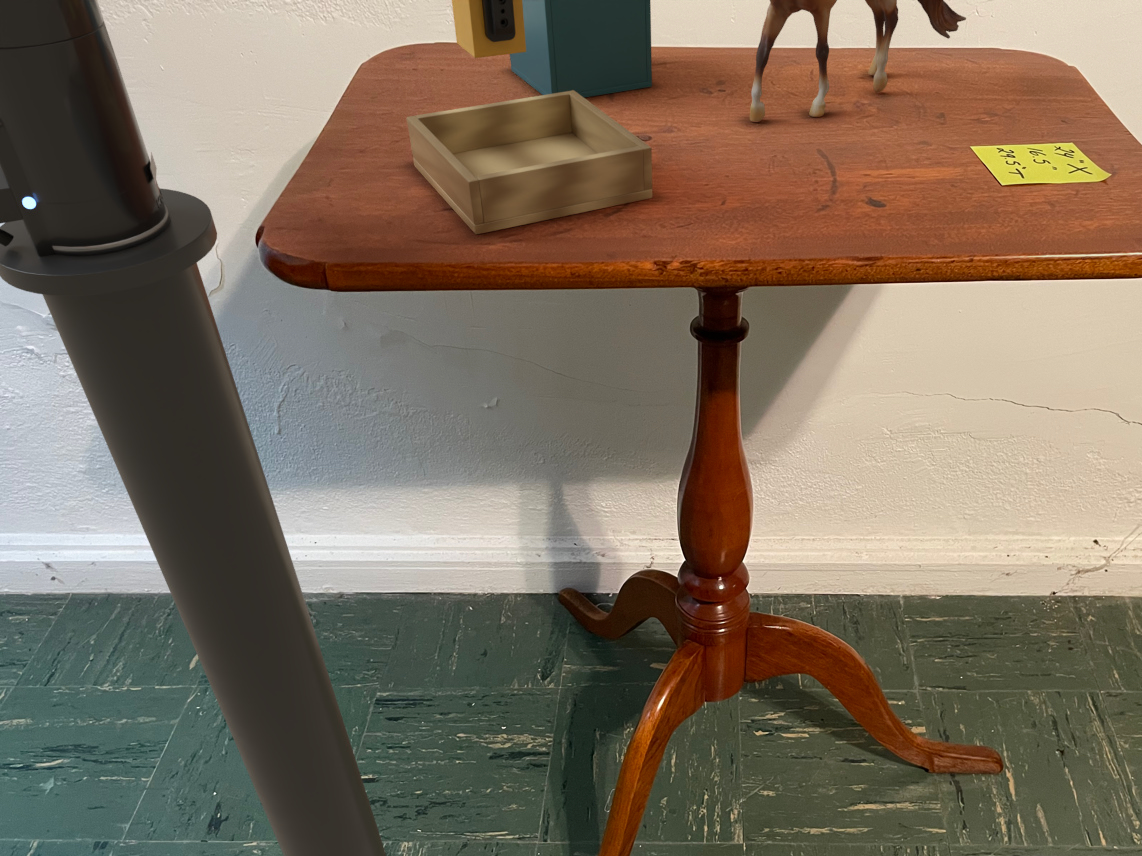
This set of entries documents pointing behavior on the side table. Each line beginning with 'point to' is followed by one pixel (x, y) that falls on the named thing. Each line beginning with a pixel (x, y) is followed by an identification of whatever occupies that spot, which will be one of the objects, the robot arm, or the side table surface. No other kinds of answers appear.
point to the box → (529, 160)
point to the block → (473, 30)
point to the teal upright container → (585, 46)
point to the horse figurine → (819, 6)
